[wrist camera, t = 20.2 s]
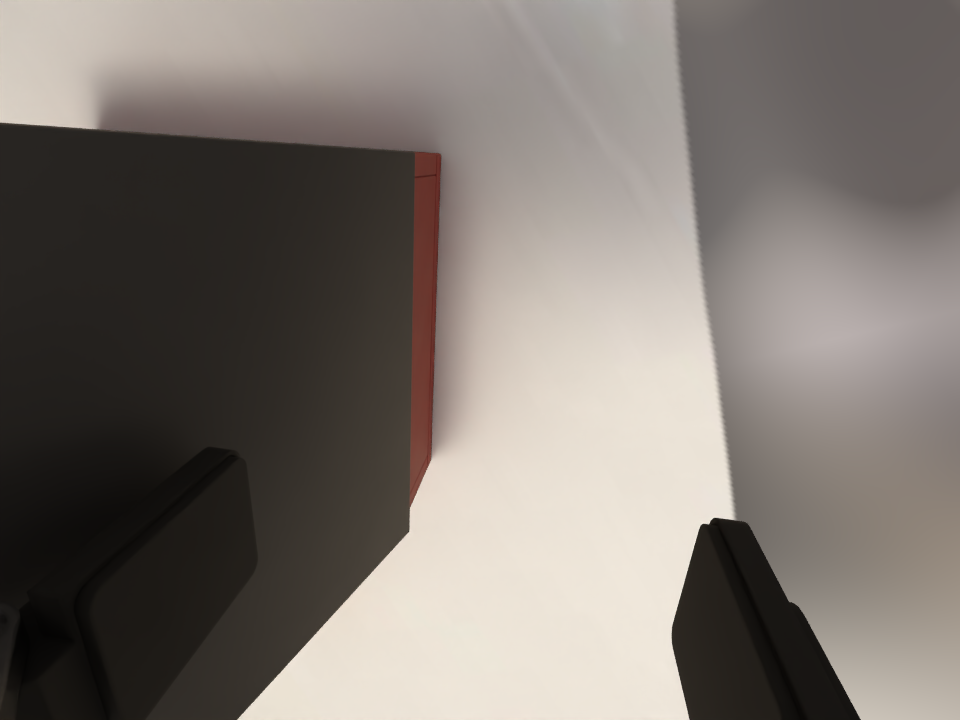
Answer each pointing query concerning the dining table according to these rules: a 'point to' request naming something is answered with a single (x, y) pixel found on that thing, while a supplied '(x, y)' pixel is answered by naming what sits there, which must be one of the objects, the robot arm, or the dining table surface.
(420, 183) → the red open tray
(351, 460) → the lid
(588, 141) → the dining table surface
